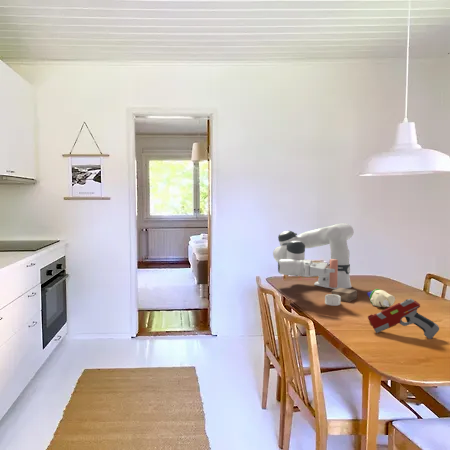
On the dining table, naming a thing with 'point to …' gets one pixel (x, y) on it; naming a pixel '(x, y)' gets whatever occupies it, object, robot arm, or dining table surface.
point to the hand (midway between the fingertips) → (335, 269)
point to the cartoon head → (381, 298)
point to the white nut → (332, 299)
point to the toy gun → (400, 311)
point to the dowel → (332, 275)
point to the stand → (345, 294)
